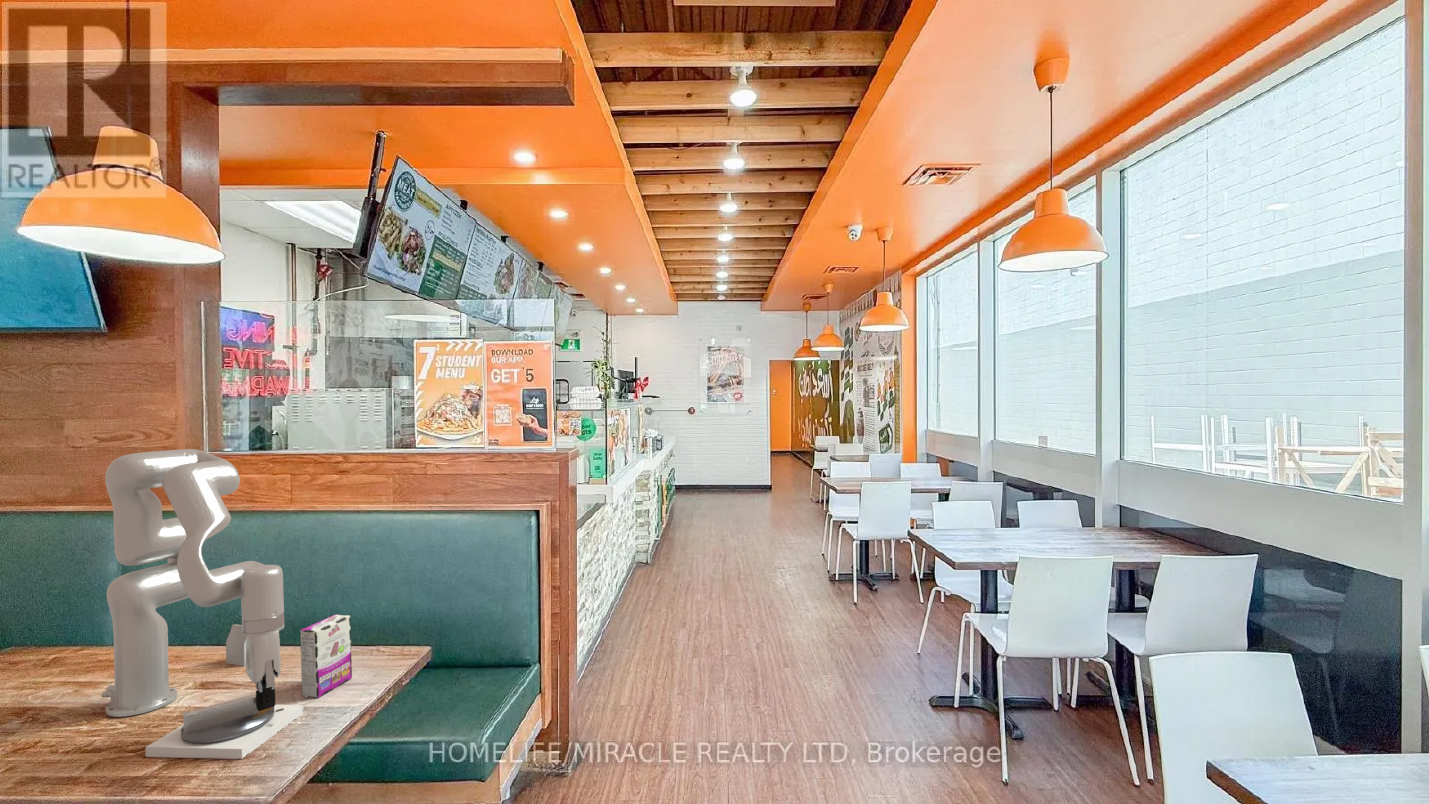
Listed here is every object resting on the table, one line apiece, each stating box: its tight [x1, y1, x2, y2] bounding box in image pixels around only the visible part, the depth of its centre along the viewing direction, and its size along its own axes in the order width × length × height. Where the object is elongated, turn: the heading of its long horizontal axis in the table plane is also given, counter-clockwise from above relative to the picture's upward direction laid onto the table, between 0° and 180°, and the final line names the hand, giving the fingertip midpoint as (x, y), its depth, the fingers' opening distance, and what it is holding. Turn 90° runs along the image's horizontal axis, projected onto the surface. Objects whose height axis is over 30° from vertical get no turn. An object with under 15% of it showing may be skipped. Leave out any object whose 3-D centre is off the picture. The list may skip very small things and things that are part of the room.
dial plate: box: [145, 704, 304, 760], centre depth 138 cm, size 20×18×2 cm
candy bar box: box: [299, 614, 353, 699], centre depth 159 cm, size 11×5×16 cm, turn 168°
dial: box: [181, 693, 274, 744], centre depth 138 cm, size 16×16×5 cm
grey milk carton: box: [225, 623, 247, 667], centre depth 175 cm, size 4×7×10 cm, turn 72°
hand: (265, 707), depth 140 cm, fingers closed
